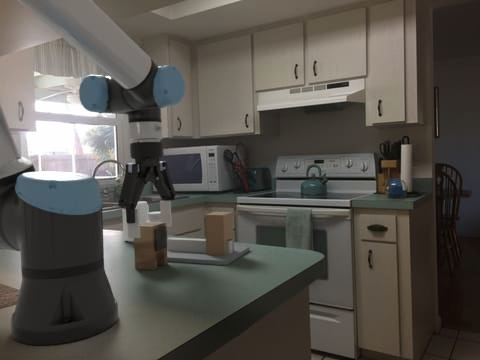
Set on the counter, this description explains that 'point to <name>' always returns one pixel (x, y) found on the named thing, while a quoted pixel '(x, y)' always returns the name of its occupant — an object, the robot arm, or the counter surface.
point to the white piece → (142, 217)
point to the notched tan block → (151, 246)
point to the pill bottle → (154, 217)
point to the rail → (208, 243)
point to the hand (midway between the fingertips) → (151, 231)
